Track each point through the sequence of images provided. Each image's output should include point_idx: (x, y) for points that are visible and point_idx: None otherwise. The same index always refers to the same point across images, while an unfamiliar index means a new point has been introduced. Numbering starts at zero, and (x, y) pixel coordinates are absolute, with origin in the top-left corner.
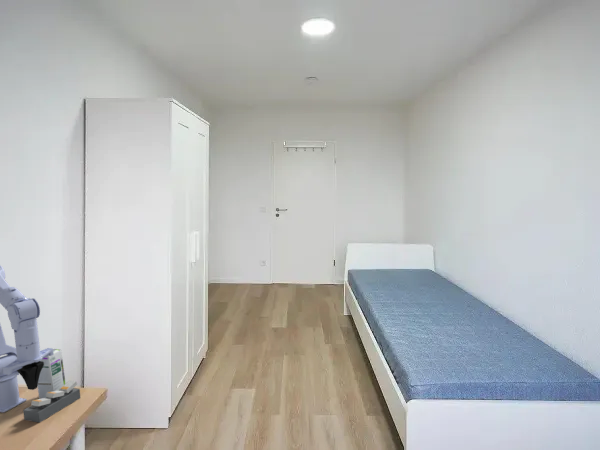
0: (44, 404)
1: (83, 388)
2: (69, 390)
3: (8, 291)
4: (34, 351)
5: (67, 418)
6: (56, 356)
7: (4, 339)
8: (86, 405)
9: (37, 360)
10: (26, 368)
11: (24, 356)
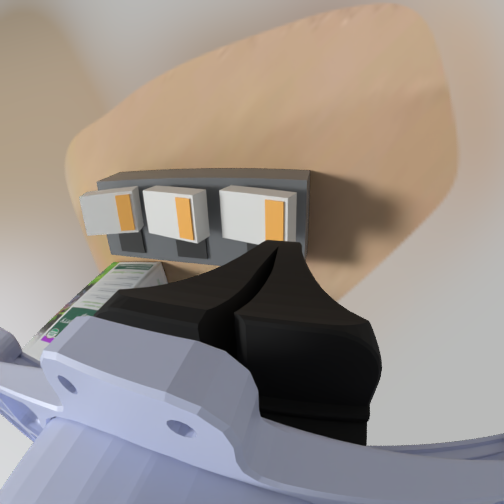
0: (261, 189)
1: (82, 220)
2: (125, 187)
3: None
4: None
5: (250, 78)
6: (39, 354)
7: None
8: (149, 96)
9: (202, 381)
10: (333, 406)
11: None
